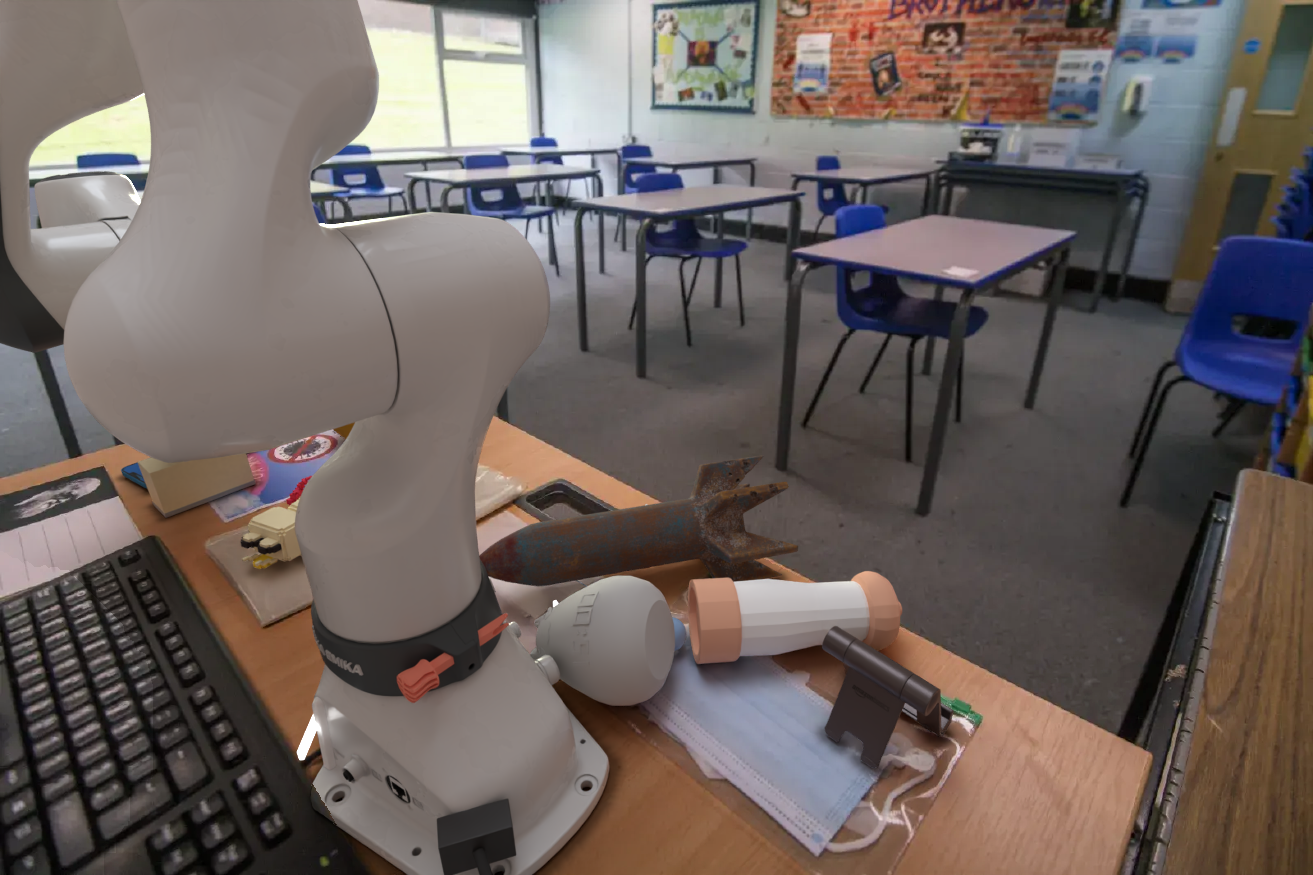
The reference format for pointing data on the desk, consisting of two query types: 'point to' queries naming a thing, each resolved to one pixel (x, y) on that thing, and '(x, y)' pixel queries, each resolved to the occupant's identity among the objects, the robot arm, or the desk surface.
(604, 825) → the desk surface
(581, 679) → the grey space capsule
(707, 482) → the rusty missile
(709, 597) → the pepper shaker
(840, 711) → the tablet stand
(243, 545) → the blocky cream chicken toy
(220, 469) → the block
